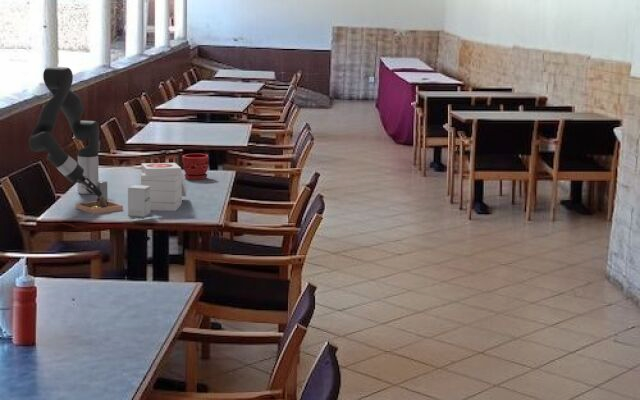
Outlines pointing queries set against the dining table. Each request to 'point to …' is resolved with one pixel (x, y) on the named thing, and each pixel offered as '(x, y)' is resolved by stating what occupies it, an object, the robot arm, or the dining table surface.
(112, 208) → the tray
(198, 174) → the plant pot
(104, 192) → the disc
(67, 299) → the dining table surface
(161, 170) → the pizza boxes
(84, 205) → the walnut block
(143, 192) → the supplement box
